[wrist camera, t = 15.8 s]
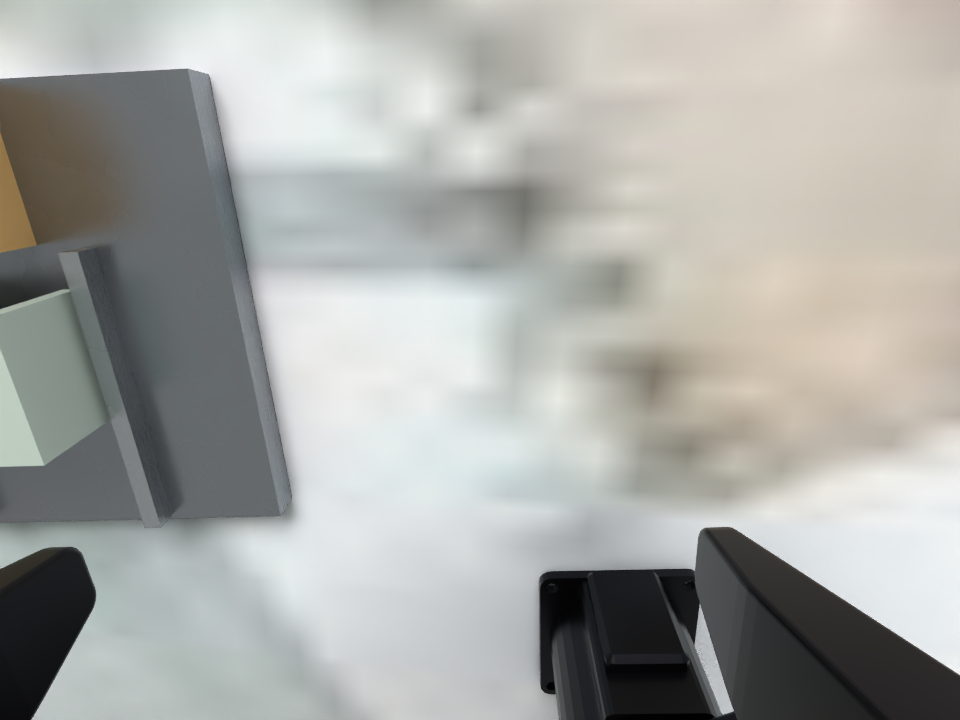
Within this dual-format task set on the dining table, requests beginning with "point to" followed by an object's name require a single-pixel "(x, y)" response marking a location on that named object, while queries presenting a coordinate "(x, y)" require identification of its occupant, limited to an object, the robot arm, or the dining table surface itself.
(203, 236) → the housing base
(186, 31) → the dining table surface
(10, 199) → the block
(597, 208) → the dining table surface
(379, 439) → the dining table surface
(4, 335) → the housing cover
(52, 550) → the robot arm
